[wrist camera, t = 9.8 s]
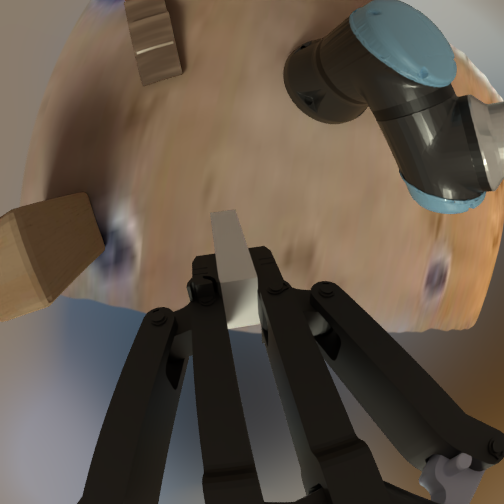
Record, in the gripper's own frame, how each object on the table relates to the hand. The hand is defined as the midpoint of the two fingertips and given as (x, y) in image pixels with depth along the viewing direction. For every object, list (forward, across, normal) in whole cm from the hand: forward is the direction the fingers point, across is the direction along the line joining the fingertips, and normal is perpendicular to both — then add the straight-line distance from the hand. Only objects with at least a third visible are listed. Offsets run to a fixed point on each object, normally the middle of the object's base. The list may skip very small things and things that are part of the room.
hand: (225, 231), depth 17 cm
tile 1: (+28, -6, +12) cm, 31 cm away
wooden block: (+22, -23, -8) cm, 33 cm away
